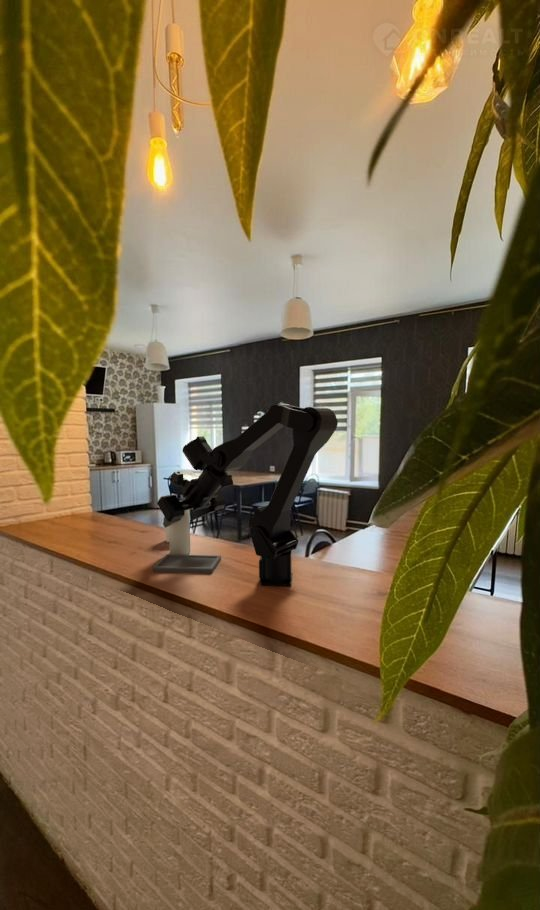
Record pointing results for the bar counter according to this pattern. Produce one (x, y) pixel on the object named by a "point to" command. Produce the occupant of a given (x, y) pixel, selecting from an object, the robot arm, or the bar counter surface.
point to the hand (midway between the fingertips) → (178, 522)
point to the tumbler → (180, 536)
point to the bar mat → (187, 563)
